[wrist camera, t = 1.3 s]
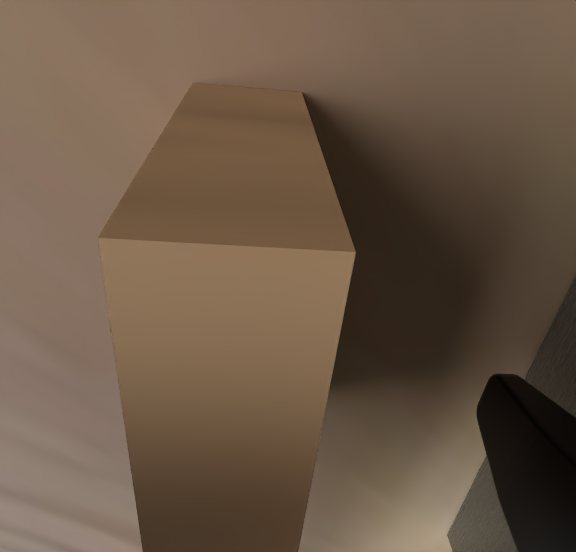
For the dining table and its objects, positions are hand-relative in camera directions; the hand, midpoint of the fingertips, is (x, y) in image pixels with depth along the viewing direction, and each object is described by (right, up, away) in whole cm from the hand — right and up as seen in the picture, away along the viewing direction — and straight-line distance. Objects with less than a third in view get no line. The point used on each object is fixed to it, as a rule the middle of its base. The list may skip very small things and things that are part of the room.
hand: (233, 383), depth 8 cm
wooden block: (0, +2, +3) cm, 4 cm away
